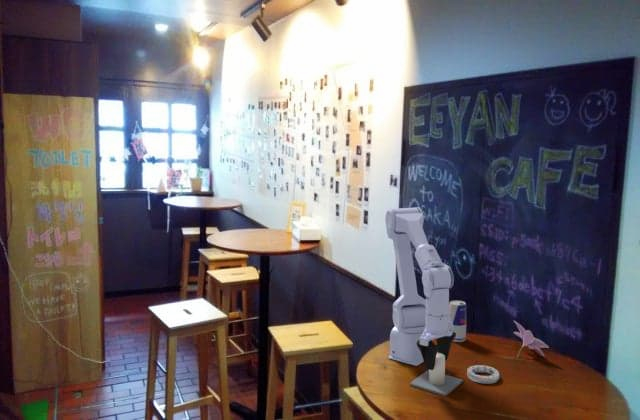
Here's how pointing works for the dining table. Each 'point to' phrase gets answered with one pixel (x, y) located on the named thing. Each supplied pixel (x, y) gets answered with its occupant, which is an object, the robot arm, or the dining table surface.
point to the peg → (438, 370)
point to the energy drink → (458, 319)
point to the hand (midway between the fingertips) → (436, 363)
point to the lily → (529, 339)
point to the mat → (442, 389)
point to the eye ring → (484, 369)
